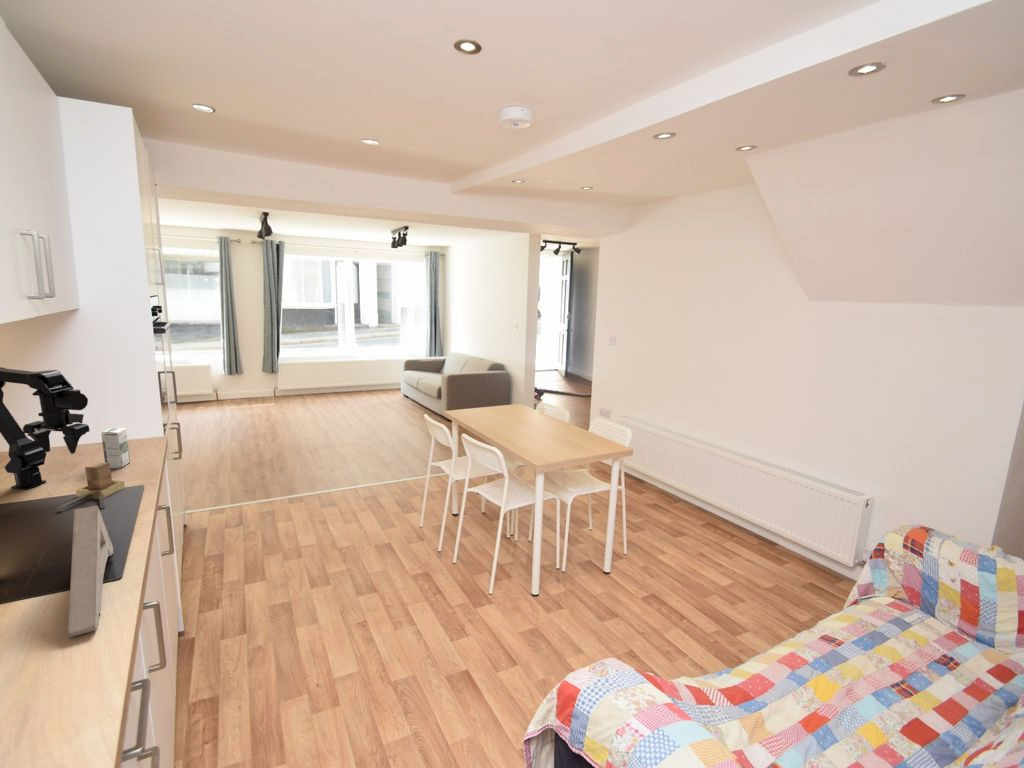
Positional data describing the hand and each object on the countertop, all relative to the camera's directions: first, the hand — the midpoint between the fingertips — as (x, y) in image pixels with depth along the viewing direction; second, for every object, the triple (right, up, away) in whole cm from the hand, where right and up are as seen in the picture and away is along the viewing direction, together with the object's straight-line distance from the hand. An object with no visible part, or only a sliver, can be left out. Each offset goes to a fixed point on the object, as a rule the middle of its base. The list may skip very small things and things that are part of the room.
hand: (60, 452), depth 169 cm
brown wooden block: (+13, -14, +1) cm, 19 cm away
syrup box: (+1, -8, +23) cm, 25 cm away
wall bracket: (+53, -27, -50) cm, 78 cm away
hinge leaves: (+16, -15, -4) cm, 22 cm away
